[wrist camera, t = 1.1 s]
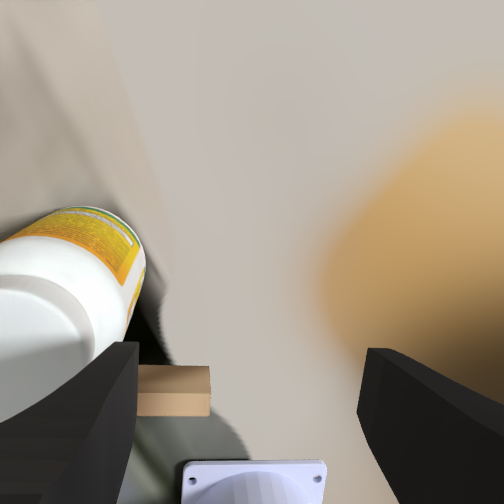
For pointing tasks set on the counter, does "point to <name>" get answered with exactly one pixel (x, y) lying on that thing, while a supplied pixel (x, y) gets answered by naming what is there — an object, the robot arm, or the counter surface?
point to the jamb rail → (173, 390)
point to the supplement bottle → (63, 299)
